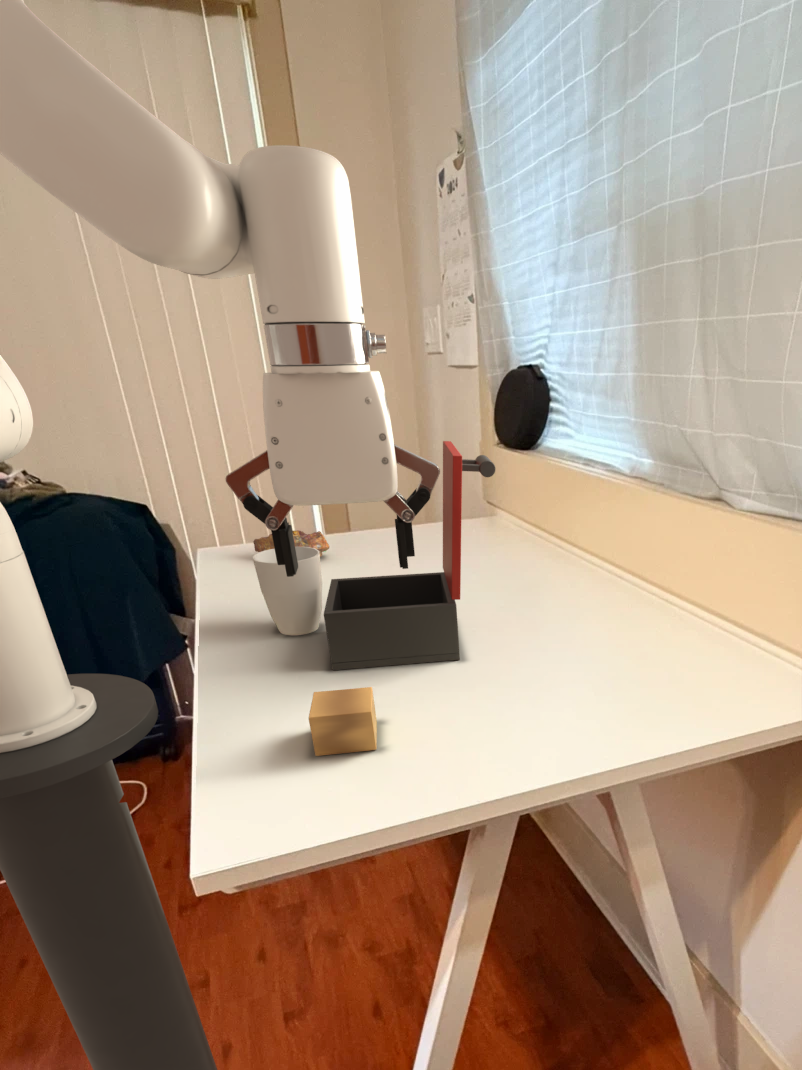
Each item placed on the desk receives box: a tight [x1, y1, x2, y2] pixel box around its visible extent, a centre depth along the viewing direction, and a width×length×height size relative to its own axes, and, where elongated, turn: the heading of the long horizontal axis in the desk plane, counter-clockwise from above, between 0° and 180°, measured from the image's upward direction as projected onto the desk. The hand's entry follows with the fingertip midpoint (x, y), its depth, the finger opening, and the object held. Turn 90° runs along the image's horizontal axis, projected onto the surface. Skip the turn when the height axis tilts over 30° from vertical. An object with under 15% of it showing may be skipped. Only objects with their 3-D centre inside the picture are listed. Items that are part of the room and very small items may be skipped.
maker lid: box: [442, 440, 496, 601], centre depth 84 cm, size 16×14×5 cm
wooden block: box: [308, 686, 378, 757], centre depth 66 cm, size 6×6×4 cm
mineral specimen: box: [252, 530, 330, 558], centre depth 124 cm, size 12×8×7 cm
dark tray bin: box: [323, 571, 461, 671], centre depth 87 cm, size 15×14×7 cm
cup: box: [252, 547, 323, 636], centre depth 92 cm, size 8×8×10 cm
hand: (349, 568), depth 63 cm, fingers open, 9 cm apart
